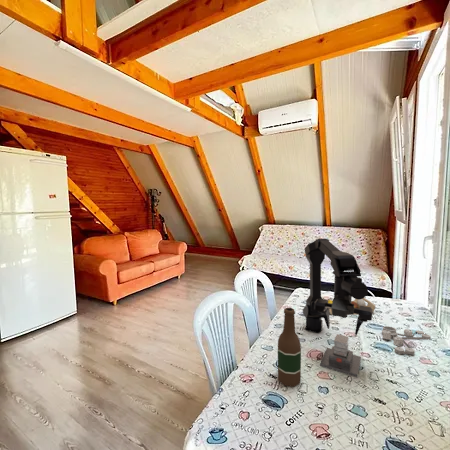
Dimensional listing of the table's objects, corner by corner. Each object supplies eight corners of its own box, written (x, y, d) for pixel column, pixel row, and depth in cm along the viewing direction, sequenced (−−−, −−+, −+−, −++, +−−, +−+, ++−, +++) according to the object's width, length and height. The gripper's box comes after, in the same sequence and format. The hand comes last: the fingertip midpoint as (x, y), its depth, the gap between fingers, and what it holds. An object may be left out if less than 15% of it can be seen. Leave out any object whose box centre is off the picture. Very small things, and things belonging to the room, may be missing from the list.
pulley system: (368, 345, 108) (411, 360, 97) (368, 334, 108) (410, 347, 97) (394, 328, 125) (433, 339, 113) (394, 318, 125) (433, 328, 113)
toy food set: (358, 302, 154) (358, 289, 154) (375, 315, 136) (376, 301, 136) (315, 302, 154) (315, 290, 154) (327, 316, 136) (327, 301, 136)
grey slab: (333, 361, 94) (333, 340, 93) (336, 354, 99) (336, 334, 98) (345, 365, 92) (346, 343, 91) (348, 357, 97) (348, 336, 96)
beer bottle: (297, 391, 81) (297, 316, 79) (273, 382, 85) (273, 310, 83) (303, 376, 88) (304, 307, 86) (281, 369, 92) (282, 303, 90)
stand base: (319, 365, 94) (320, 356, 93) (327, 350, 104) (327, 341, 103) (357, 377, 87) (357, 367, 87) (360, 359, 97) (361, 350, 97)
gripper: (310, 291, 92) (309, 334, 93) (371, 301, 82) (369, 349, 83) (317, 283, 101) (317, 322, 102) (373, 291, 91) (371, 334, 92)
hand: (341, 331), depth 95 cm, fingers open, 9 cm apart
